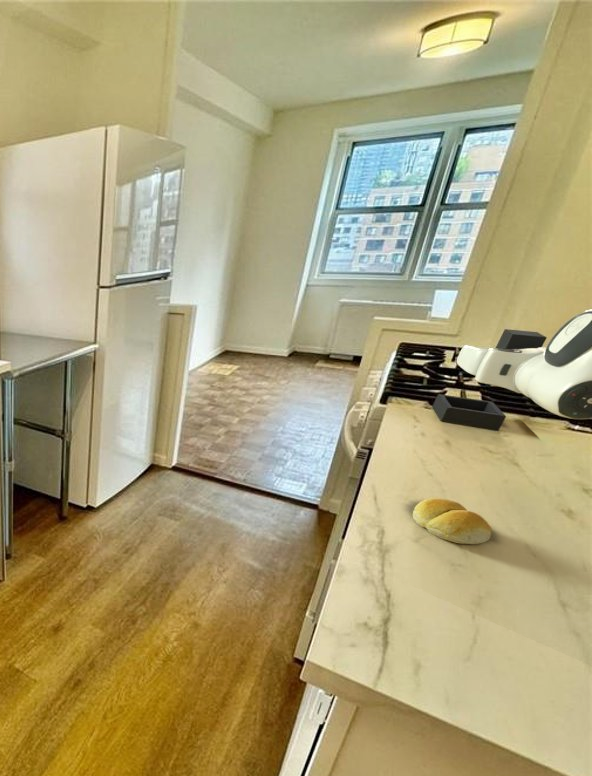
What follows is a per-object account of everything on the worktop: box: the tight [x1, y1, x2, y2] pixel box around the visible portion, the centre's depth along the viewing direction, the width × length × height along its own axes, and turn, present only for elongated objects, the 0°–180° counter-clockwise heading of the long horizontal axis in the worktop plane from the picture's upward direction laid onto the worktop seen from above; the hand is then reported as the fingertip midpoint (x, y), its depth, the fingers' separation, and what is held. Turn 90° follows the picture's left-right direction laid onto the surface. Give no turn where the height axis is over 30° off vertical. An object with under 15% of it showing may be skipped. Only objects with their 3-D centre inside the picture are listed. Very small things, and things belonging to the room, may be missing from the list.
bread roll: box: [412, 497, 492, 545], centre depth 74 cm, size 8×9×4 cm
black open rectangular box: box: [432, 393, 507, 431], centre depth 112 cm, size 10×10×4 cm
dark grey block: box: [495, 328, 548, 349], centre depth 99 cm, size 5×5×10 cm
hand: (511, 353), depth 100 cm, fingers closed on dark grey block, 5 cm apart
